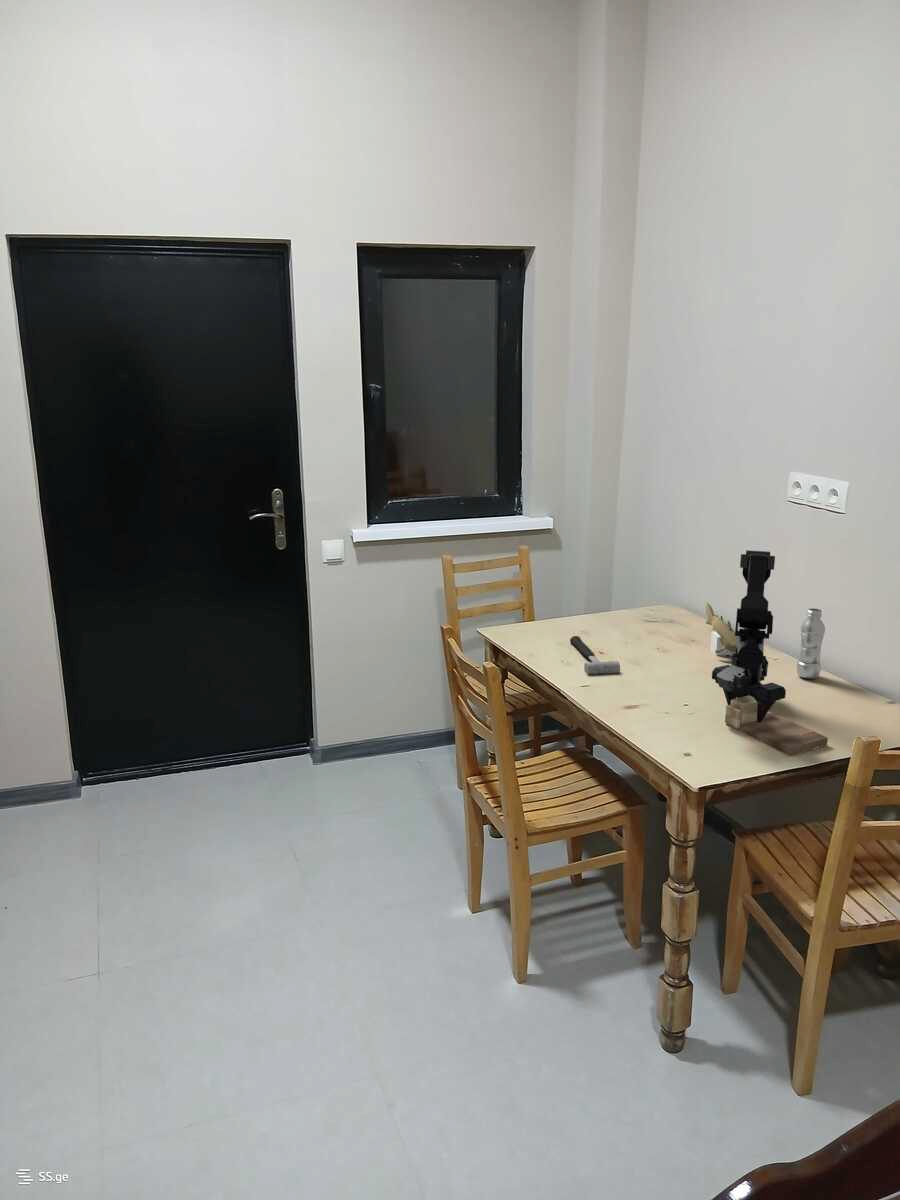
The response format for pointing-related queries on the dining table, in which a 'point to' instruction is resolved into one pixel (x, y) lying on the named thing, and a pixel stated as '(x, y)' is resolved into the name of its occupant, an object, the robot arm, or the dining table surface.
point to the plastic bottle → (811, 645)
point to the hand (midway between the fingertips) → (744, 715)
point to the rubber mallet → (594, 659)
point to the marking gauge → (741, 711)
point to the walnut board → (783, 734)
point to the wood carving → (721, 634)
